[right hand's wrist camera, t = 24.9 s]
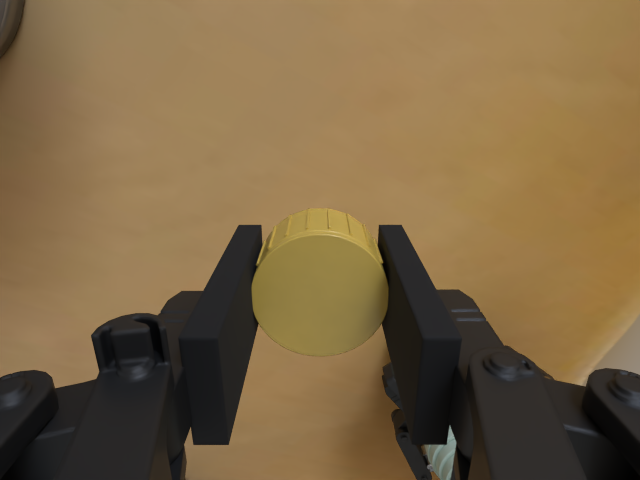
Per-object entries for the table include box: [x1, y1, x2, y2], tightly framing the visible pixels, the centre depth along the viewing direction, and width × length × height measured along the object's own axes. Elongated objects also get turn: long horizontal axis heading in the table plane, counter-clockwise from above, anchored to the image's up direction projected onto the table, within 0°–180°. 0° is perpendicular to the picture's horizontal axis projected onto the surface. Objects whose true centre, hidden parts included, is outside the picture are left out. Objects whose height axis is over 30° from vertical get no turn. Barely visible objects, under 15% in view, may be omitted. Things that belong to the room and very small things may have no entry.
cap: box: [252, 208, 389, 356], centre depth 13 cm, size 4×4×2 cm
